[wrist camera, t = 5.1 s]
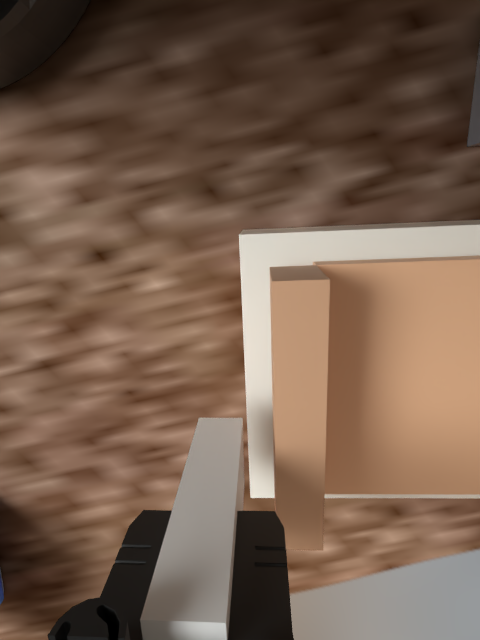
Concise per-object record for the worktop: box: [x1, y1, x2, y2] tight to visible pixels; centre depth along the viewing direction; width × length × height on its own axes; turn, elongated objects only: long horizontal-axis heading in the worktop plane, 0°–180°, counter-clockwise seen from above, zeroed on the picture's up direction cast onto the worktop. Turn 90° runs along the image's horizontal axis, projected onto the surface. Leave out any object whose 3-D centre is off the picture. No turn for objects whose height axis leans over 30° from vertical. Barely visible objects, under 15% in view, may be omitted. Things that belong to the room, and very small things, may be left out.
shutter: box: [270, 256, 480, 550], centre depth 12 cm, size 9×10×3 cm
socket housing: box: [239, 220, 480, 498], centre depth 15 cm, size 11×14×3 cm
